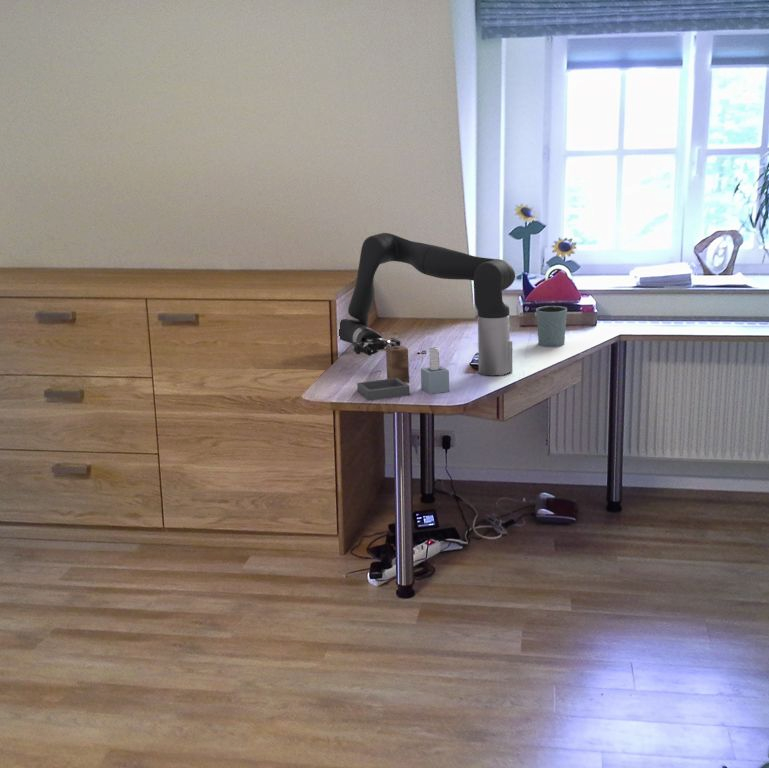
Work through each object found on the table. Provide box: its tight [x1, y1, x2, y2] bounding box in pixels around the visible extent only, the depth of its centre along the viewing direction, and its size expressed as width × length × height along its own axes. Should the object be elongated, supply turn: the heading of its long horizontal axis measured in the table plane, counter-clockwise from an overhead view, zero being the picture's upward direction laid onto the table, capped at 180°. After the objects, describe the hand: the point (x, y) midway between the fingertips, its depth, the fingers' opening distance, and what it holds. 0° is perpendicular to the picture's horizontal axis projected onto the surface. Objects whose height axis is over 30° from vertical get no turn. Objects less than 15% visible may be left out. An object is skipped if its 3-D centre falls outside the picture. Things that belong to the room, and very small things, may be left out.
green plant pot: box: [535, 305, 568, 348], centre depth 306 cm, size 10×10×12 cm
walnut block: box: [385, 345, 410, 383], centre depth 268 cm, size 5×5×10 cm
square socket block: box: [420, 365, 450, 395], centre depth 258 cm, size 6×6×6 cm
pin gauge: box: [429, 346, 440, 372], centre depth 257 cm, size 3×3×12 cm
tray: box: [356, 378, 411, 401], centre depth 258 cm, size 12×10×2 cm
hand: (383, 351), depth 278 cm, fingers open, 8 cm apart
